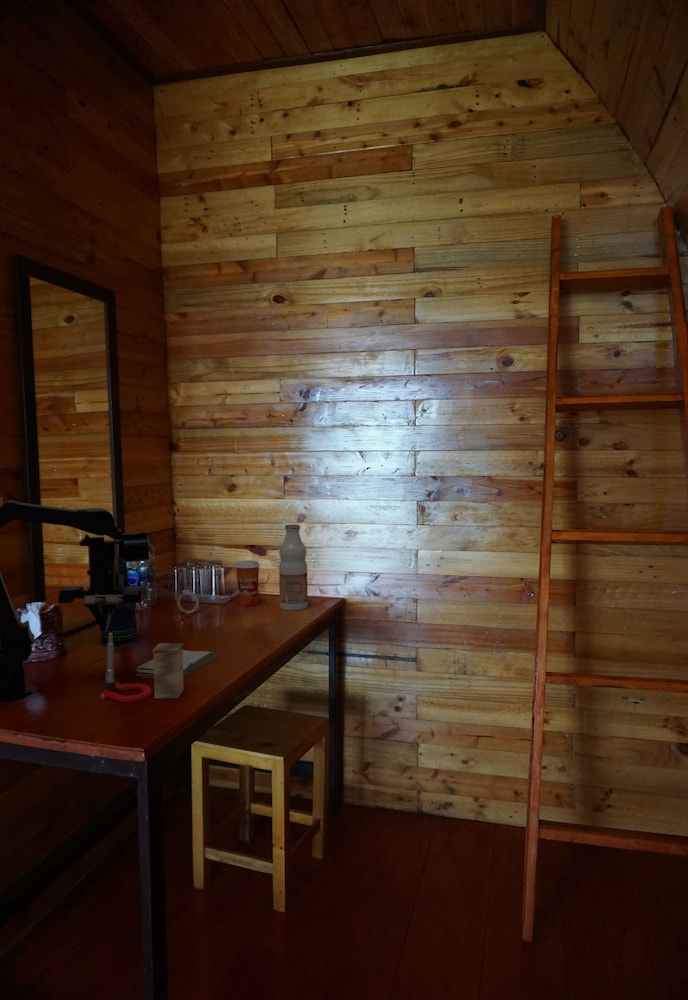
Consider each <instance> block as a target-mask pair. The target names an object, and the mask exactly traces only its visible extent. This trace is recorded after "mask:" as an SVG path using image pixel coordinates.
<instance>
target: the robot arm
mask: <svg viewBox="0 0 688 1000" xmlns="http://www.w3.org/2000/svg"><path fill="white" fill-rule="evenodd" d="M13 520H17V521H25V522H33V523H38V524H49V525H54V526H55V525H56V526H64V527H70V528H74V529H77V530H79V531H82V532H85V533H86V534H85V535H84V537H83V538H82V539H81V540H79V542H78V544H79V546H80V547H87V549H88V550H87V552H88V570H87V571H86V573H87V574H86V575H87V576H89V577H88V578H89V582H88V583H89V587H88V588H87V589H85V588H84V585H80V586H79V585H75V586H73V585H72V586H70V585H69V586H66V587H64V588H62V589H61V590H59V592H58V594H57V603H58V604H72V603H73V602H74V600H76V599H84V603H83V607H86V608H88V610H89V612H90V613H91V614H92V615H93V617H94V620H95V621H96V622H97V625H98V626H99V628H100V629H99V630H101V631H102V632H106V631H107V629H108V626H109V623H110V619H111V616H112V613H113V611H114V609H115V607H116V605H118V604H119V603H121V602H122V601H123V600H124V601H125V602H126V603H136V604H138V603H141V602H142V601H144V600H146V599H147V598H148V589H147V587H146V586H145V585H128V586H129V587H127V588H126V589H124V590H116V589H123V586H125V585H124V583H125V575H124V574H122V573H119V571H118V566H117V565H116V551H117V557H118V559H121V560H122V562H123V563H133V562H135V563H137V562H149V561H150V547H149V540H148V533H147V532H146V531H138V532H129V533H128V532H127V533H122V530H121V529H120V528H118V527H117V526H116V524H115V523H116V522H115V521H116V520H115V517H114V516H113V514H112V513H111V512H110V511H109V510H108V509H106V508H102V507H101V508H100V507H99V508H98V507H97V508H76V509H75V508H63V507H56V506H49V505H42V504H34V503H28V502H27V503H26V502H20V501H16V500H13V499H11V500H6V501H5V502H4V503H2V505H1V506H0V529H1V528H3V527H4V526H5V525H8V523H9V522H11V521H13ZM87 533H88V534H87ZM89 534H93V535H96V537H95V536H93V537H92V536H90V535H89ZM104 536H107V537H108V538H110V539H111V540H105V537H104ZM116 546H117V548H116ZM115 549H117V550H115ZM101 598H106V602H105V603H104V601H105V599H101ZM122 598H123V599H122ZM35 636H36V635H35V634H34V633H33V632H32V630H31V626H30V620H26V621H24V622H22V620H21V619H20V618H19V616H18V615H17V612H16V609H15V607H14V605H13V601H12V598H11V596H10V594H9V591H8V588H7V586H6V583H5V581H4V577H3V575H2V572H1V571H0V647H1V649H0V701H1V702H5V703H6V702H9V701H12V700H15V699H18V698H20V697H23V696H27V695H29V694H32V692H33V691H32V689H28V688H26V675H25V674H26V673H25V666H24V665H23V663H24V662H26V661H27V660H28V659H29V658H30V657H31V654H32V652H33V645H34V644H35V643H34V642H35Z"/></svg>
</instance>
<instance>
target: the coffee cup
mask: <svg viewBox="0 0 688 1000" xmlns="http://www.w3.org/2000/svg"><path fill="white" fill-rule="evenodd" d="M260 567H261V564H260V563H259V561H257V560H253V559H249V560H239V561H237V563H236V565H235V568H236V578H237V588H238V589H237V591H238V601H239V607H243V608H252V607H257V606H258V599H259V598H258V597H259V596H258V595H259V576H260V575H259V573H260V570H259V569H260Z"/></svg>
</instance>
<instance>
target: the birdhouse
mask: <svg viewBox="0 0 688 1000" xmlns="http://www.w3.org/2000/svg"><path fill="white" fill-rule="evenodd" d="M183 647H184V643H183V642H174V643H172V642H169V643H167V642H165V643H164V642H161V643H160V642H159V643H158V644H156V646H155V647H154V648H153V649H152V651H151V653H152V654H153V659H154V679H153V680H154V683H153V684H154V686H153V687H154V699H179V698H180V696H181V695H182V693H183V692H184V677H183V651H182V650H183Z"/></svg>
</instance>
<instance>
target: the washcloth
mask: <svg viewBox="0 0 688 1000" xmlns="http://www.w3.org/2000/svg"><path fill="white" fill-rule="evenodd" d="M182 651H183V678H184V677H187V676H188V675H190V674H192V673H194V672H195V671H197V670H198V669H200V668H201V667H202V666H204V665H206V664H208V663H210V662H211V661H212V660H213V659H214V652H212V651H202V650H197V651H194V650H193V651H192V650H191V651H190V650H185V649H182ZM135 671H136V672H137V673H136V675H135V677H141V678H143V679H153V680H154V658H153V659H151V660H149V661H147V662H145V663H143V664H141V665H139V666H137V668H135Z"/></svg>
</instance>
